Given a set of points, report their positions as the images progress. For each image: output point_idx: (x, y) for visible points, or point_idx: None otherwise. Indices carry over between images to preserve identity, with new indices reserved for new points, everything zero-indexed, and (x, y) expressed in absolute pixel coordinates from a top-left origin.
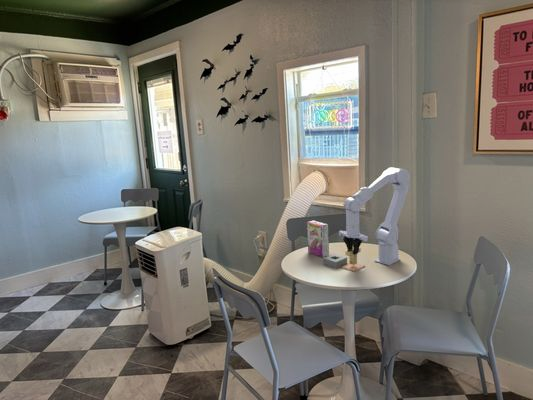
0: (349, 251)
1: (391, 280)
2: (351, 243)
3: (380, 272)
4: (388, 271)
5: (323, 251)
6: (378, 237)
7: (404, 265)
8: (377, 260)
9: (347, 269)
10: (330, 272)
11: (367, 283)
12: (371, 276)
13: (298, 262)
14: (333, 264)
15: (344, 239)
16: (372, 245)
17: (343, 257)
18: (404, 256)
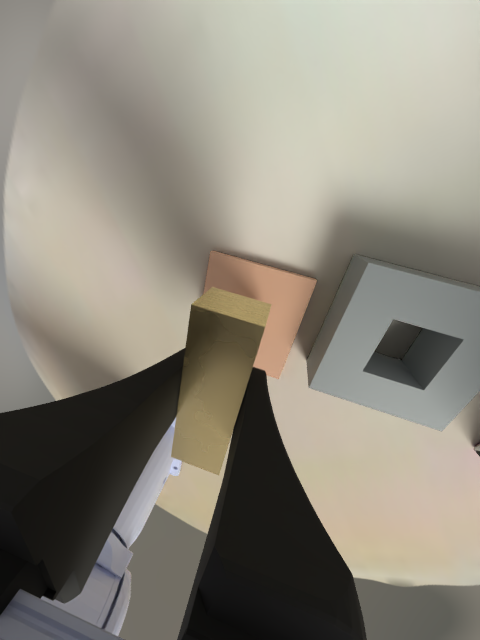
0: (205, 323)
1: (7, 227)
2: (221, 491)
3: (100, 304)
4: (83, 330)
5: None
6: (92, 594)
7: None
8: (175, 422)
9: (266, 265)
10: (380, 136)
11: (50, 91)
12: (100, 228)
13: None
14: (391, 266)
15: (298, 590)
16: None
17: (335, 379)
18: None
